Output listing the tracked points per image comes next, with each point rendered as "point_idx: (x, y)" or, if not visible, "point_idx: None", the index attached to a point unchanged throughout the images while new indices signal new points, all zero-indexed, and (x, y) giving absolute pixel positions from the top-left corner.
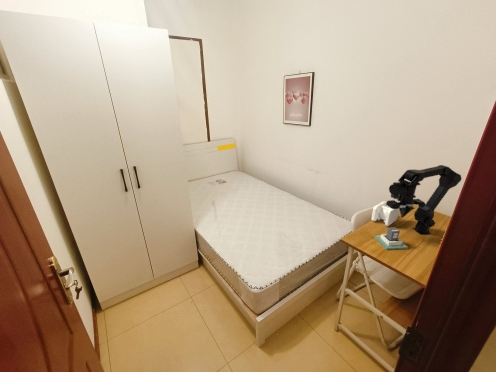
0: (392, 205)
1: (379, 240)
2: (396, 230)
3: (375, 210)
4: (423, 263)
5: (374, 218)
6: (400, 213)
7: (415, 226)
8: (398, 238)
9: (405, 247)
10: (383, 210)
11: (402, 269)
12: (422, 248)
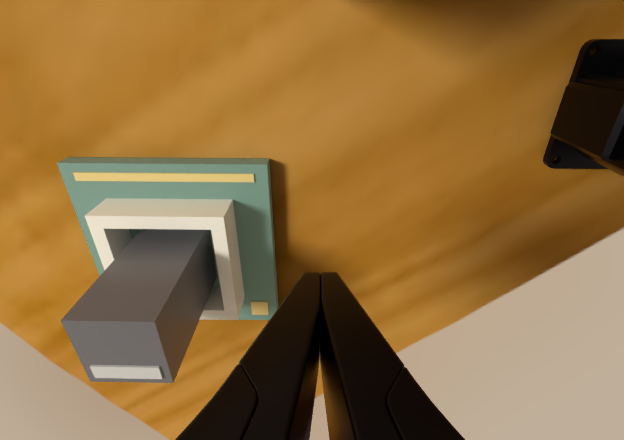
0: None
1: (87, 234)
2: (141, 374)
3: None
4: None
5: None
6: (274, 314)
7: (597, 97)
8: (228, 282)
9: (255, 318)
10: None
11: (151, 419)
12: (380, 315)
